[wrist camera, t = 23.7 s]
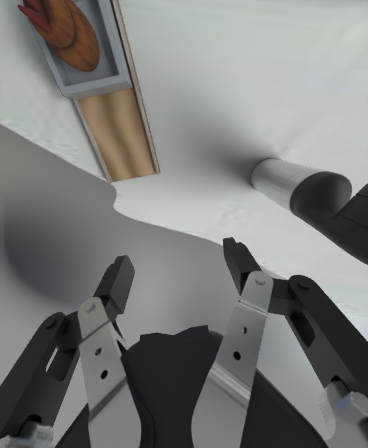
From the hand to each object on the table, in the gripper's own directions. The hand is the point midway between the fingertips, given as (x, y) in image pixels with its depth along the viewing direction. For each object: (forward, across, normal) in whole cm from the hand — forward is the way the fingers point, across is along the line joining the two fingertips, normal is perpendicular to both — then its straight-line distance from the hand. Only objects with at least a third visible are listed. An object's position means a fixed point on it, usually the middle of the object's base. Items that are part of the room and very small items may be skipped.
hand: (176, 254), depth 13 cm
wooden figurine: (+30, +11, -24) cm, 40 cm away
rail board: (+34, +11, -16) cm, 39 cm away
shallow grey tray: (+33, +11, -24) cm, 42 cm away
